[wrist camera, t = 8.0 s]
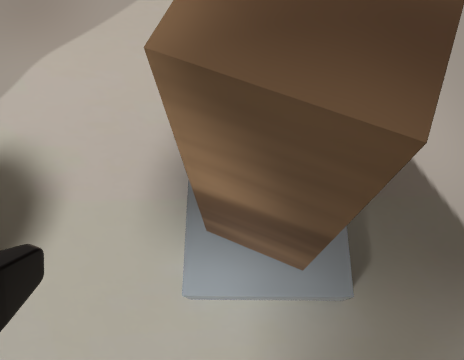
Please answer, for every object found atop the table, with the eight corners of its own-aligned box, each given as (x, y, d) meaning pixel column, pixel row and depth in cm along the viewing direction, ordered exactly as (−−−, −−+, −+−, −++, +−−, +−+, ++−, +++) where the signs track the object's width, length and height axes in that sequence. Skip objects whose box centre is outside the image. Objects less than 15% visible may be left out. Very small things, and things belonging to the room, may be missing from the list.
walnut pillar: (302, 270, 18) (427, 142, 6) (206, 230, 19) (143, 47, 7) (334, 179, 20) (482, -64, 8) (245, 146, 21) (249, -120, 8)
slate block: (340, 301, 20) (353, 297, 18) (192, 300, 21) (182, 295, 18) (328, 163, 23) (338, 141, 20) (198, 165, 24) (190, 144, 21)
